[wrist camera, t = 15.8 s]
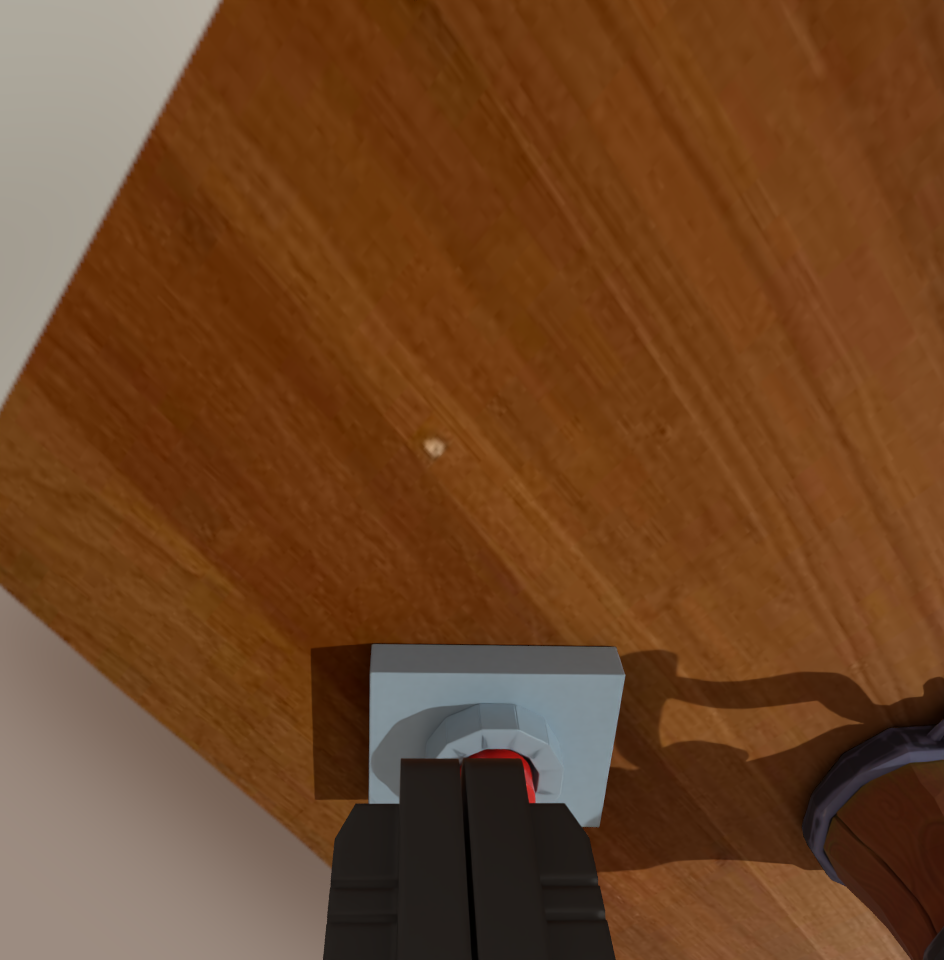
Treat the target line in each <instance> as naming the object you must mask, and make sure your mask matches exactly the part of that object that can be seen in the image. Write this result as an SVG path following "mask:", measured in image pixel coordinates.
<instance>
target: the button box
mask: <svg viewBox="0 0 944 960" xmlns="http://www.w3.org/2000/svg"><path fill="white" fill-rule="evenodd" d="M624 680H625V673H624V670H623V667H622V664H621V661H620V658H619V655H618V652H617V649H616V647H581V646H498V645H415V644H372V648H371V663H370V704H369V804H399V792H400V762H401V758H453V759H459V764H460V766H461V765H462V760H463V758H468V757H470V756H471V755H473V754H475V753H478V752H480V751H482V750H486V749H507V750H511V751H513V752H516V753H518V754H519V755H521V756H522V757H523V758H524V759H525V760H526V761H527V762H528V764H529V766H530V768H531V772H532V778H533V784H534V791H535V797H536V803H565V804H566V805H567V807H568V808H569V810H570V811H571V813H572V814H573V815H574V817H575V818H576V820H577V821H578V822H579V824H580V825H581V827H599V826H600V820H601V814H602V808H603V802H604V797H605V791H606V785H607V779H608V773H609V767H610V761H611V756H612V750H613V744H614V738H615V732H616V726H617V721H618V715H619V709H620V703H621V697H622V691H623V685H624Z"/></svg>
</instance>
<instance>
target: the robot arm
mask: <svg viewBox="0 0 944 960" xmlns="http://www.w3.org/2000/svg"><path fill="white" fill-rule="evenodd" d="M323 960H616V959H615V955H614V950H613V945H612V941H611V936H610V931H609V927H608V922H607V920H606V919H605V908H604V904H603V899H602V894H601V890H600V886H598V876H597V871H596V867H595V862H594V858H593V853H592V848H591V844H590V839H589V837H588V835H587V834H586V832H585V831H584V830H583V828H582V827H581V825H580V824H579V822H578V821H577V820H576V818H575V817H574V815H573V814H572V813H571V811H570V810H569V808H568V807H567V805H566V804H565V803H529V799H528V792H527V786H526V779H525V772H524V766H523V762H522V760H521V758H463V760H462V767H461V778H460V764H459V759H453V758H401V762H400V792H399V804H355V806H354V808H353V809H352V811H351V813H350V814H349V816H348V818H347V819H346V821H345V823H344V824H343V826H342V828H341V830H340V831H339V833H338V835H337V836H336V838H335V842H334V853H333V863H332V873H331V887H330V894H329V905H328V914H327V925H326V935H325V945H324V955H323Z"/></svg>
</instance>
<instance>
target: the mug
mask: <svg viewBox="0 0 944 960" xmlns="http://www.w3.org/2000/svg"><path fill="white" fill-rule="evenodd" d="M802 831H803V836H804V838H805V841H806V843H807V845H808V846H809V848H810V849H811V851H812V853H813V854H814V856H815V857H816V859H817V860H818V862H819V863H820V865H821V866H822V868H823V869H824V871H825V873H826V874H827V875H828V876H829V877H830V879H831V880H833V881H835V882H837V883H840V884H842V885H844V886H846V887H847V888H848V889H849V890H850V891H851V892H852V893H853V894H854V895H855V896H856V897H857V898H859V899H860V900H861V901H862V902H863V903H864V904H865V905H866V906H867V907H868V908H869V909H870V910H871V911H872V912H873V913H874V914H875V915H876V916H877V918H878V919H879V920H880V921H881V922H882V923H883V924H884V925H885V926H886V927H887V928H888V929H889V931H890V932H891V933H892V935H893V936H894V937H895V939H896V940H897V941H898V943H899V944H900V945H901V947H902V948H903V949H904V951H905V952H906V953H907V955H908V956H909V957H910V959H911V960H944V718H943V720H942V721H941V722H940V723H939V724H937V725H929V726H915V727H901V728H888V729H887V730H885V731H883V732H881V733H879V734H878V735H876V736H874V737H872V738H871V739H869V740H867V741H865V742H863V743H862V744H860V745H858V746H856V747H855V748H853V749H851V750H849V751H847V752H846V753H844V754H843V755H842V756H841V757H840V758H839V760H838V761H837V762H836V763H835V765H834V766H833V767H832V769H831V770H830V771H829V772H828V774H827V775H826V776H825V777H824V779H823V780H822V781H821V782H820V784H819V785H818V786H817V788H816V789H815V790H814V792H813V793H812V795H811V798H810V801H809V804H808V808H807V811H806V814H805V817H804V820H803V823H802Z"/></svg>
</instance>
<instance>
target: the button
mask: <svg viewBox="0 0 944 960" xmlns="http://www.w3.org/2000/svg"><path fill="white" fill-rule="evenodd" d="M468 758H521V760H522V762H523V766H524V772H525V779H526V786H527V792H528V799H529V803H536V797H535V791H534V784H533V778H532V772H531V768H530V766H529V764H528V762H527V761H526V760H525V759H524V758H523V757H522V756H521V755H519V754H518V753H516V752H513V751H511V750H507V749H486V750H482V751H480V752H478V753H475V754H473V755H471V756H470V757H468ZM461 767H462V765H461V766H460V778H461Z"/></svg>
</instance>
